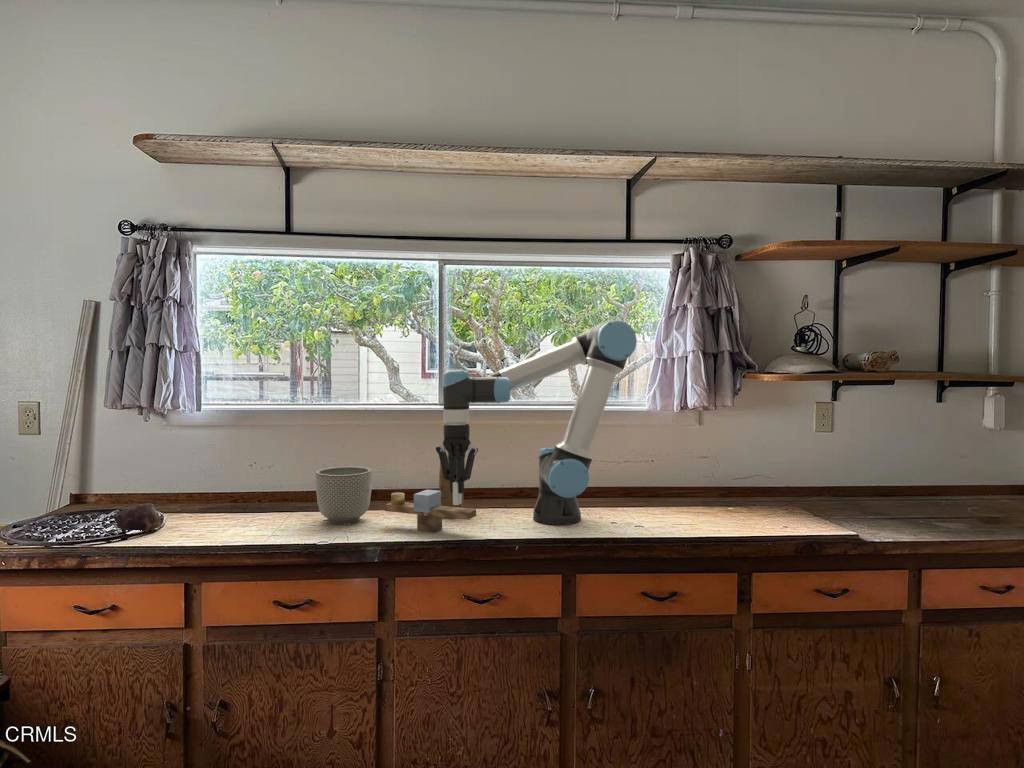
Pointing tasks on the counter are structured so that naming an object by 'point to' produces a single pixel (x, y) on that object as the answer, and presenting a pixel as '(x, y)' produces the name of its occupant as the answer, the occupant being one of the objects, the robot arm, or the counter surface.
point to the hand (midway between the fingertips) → (457, 504)
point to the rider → (426, 500)
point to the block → (446, 490)
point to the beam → (431, 519)
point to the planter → (343, 493)
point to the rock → (139, 518)
